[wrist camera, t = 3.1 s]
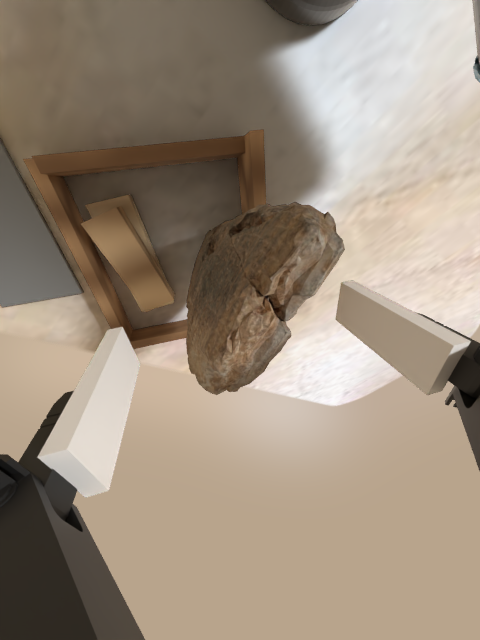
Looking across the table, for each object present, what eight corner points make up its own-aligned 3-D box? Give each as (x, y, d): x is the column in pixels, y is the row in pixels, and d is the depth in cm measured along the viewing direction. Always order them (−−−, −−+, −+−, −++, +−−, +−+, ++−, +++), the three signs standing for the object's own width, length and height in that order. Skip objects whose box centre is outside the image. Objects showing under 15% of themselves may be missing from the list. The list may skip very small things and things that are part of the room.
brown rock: (207, 301, 32) (232, 426, 15) (174, 289, 30) (162, 416, 13) (254, 207, 27) (373, 234, 10) (218, 184, 25) (292, 169, 8)
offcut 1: (91, 204, 23) (84, 204, 22) (131, 194, 24) (128, 194, 22) (144, 305, 30) (141, 312, 29) (174, 297, 31) (173, 303, 29)
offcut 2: (88, 221, 22) (80, 223, 21) (121, 206, 22) (116, 207, 21) (148, 305, 28) (146, 312, 27) (174, 293, 28) (173, 299, 27)
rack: (42, 163, 21) (-3, 153, 16) (246, 142, 23) (263, 129, 18) (127, 338, 32) (117, 366, 27) (258, 311, 34) (270, 332, 29)
